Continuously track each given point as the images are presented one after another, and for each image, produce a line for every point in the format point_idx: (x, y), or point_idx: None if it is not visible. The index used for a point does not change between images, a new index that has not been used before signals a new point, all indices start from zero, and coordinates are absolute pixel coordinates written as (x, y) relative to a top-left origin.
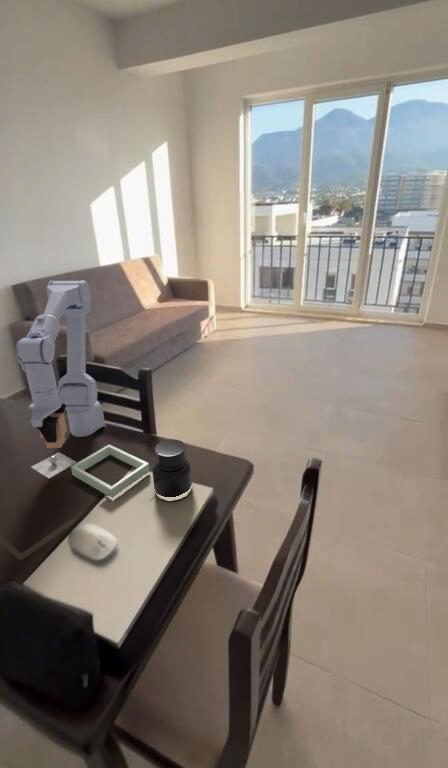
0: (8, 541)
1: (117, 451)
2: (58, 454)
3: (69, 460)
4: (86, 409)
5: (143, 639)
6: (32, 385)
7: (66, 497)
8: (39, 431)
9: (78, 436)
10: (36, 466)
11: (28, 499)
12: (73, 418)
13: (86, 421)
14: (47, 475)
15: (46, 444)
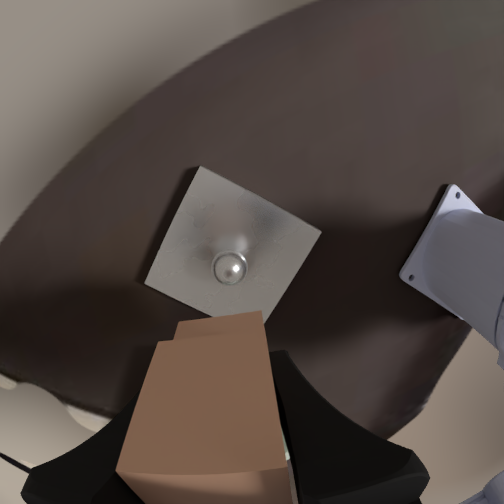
0: None
1: (287, 449)
2: (304, 239)
3: (264, 305)
4: (500, 354)
5: (4, 459)
6: None
7: (103, 355)
8: (146, 383)
9: (426, 258)
10: (207, 188)
11: (62, 253)
12: (480, 285)
13: (465, 320)
14: (158, 269)
15: (176, 337)
